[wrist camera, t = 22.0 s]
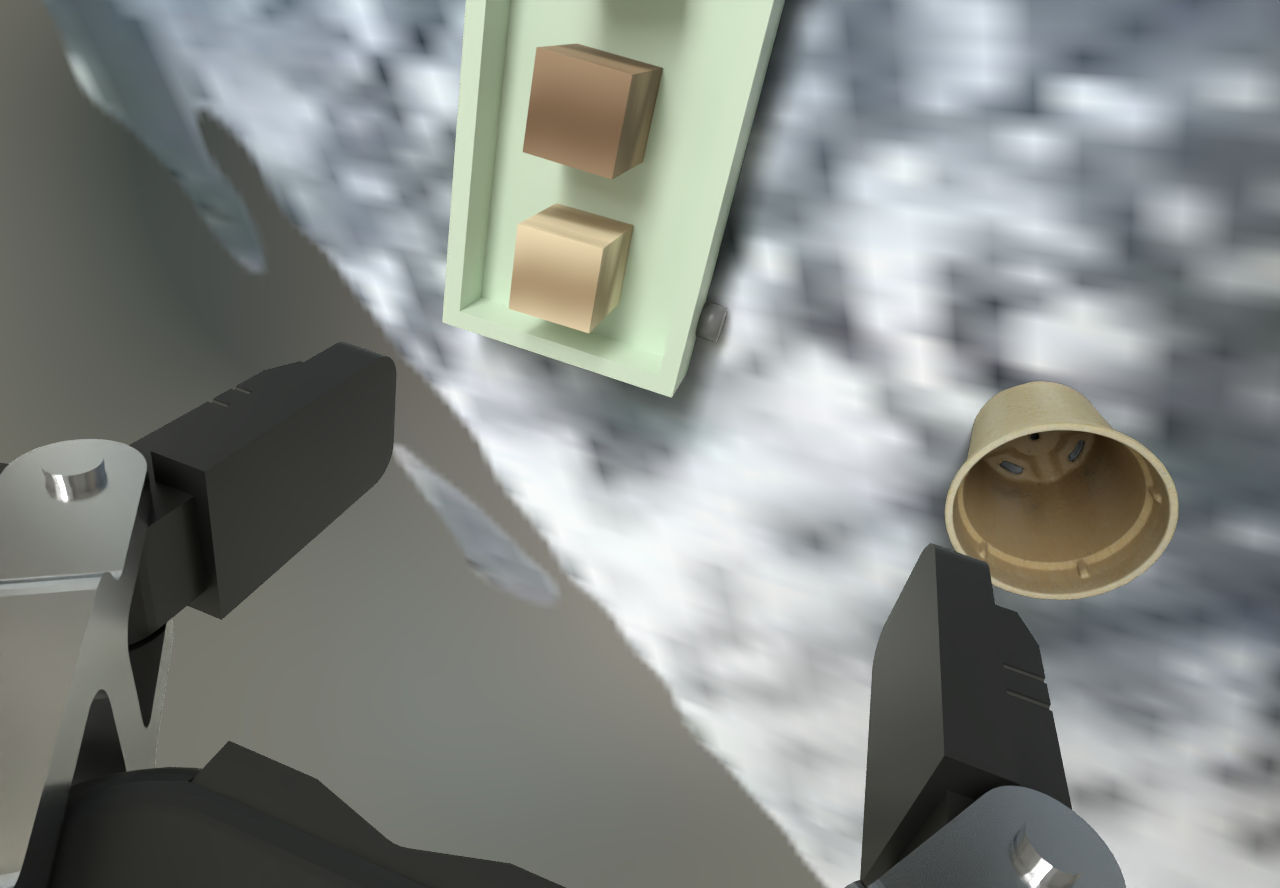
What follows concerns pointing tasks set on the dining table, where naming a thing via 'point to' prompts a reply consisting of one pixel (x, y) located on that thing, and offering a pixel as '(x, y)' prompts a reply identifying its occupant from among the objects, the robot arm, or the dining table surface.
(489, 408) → the dining table surface
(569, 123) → the walnut part
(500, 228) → the cart
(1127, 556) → the flower pot
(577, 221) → the beech part
